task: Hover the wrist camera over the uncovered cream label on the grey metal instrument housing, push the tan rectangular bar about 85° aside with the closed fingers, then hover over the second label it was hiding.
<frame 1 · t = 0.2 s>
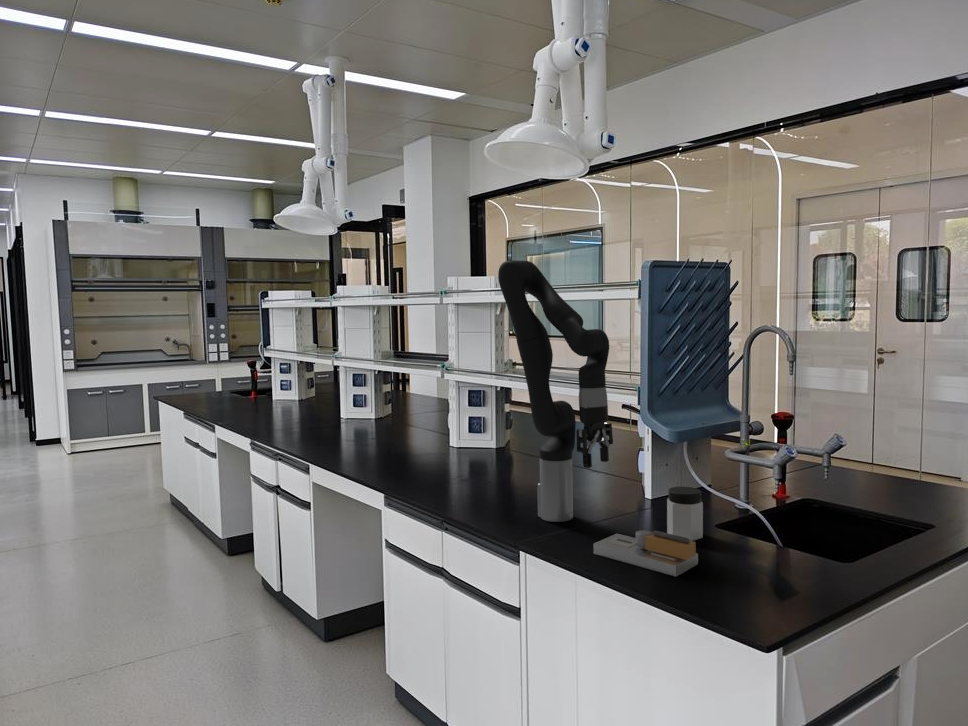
hand: (596, 464, 184), 17 cm above the worktop, tool pointing down, fingers open, 8 cm apart
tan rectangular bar: (663, 541, 158), point 5 cm above the worktop, hinge at 0.0°
jar: (684, 536, 177), on the worktop
housing: (644, 558, 162), on the worktop
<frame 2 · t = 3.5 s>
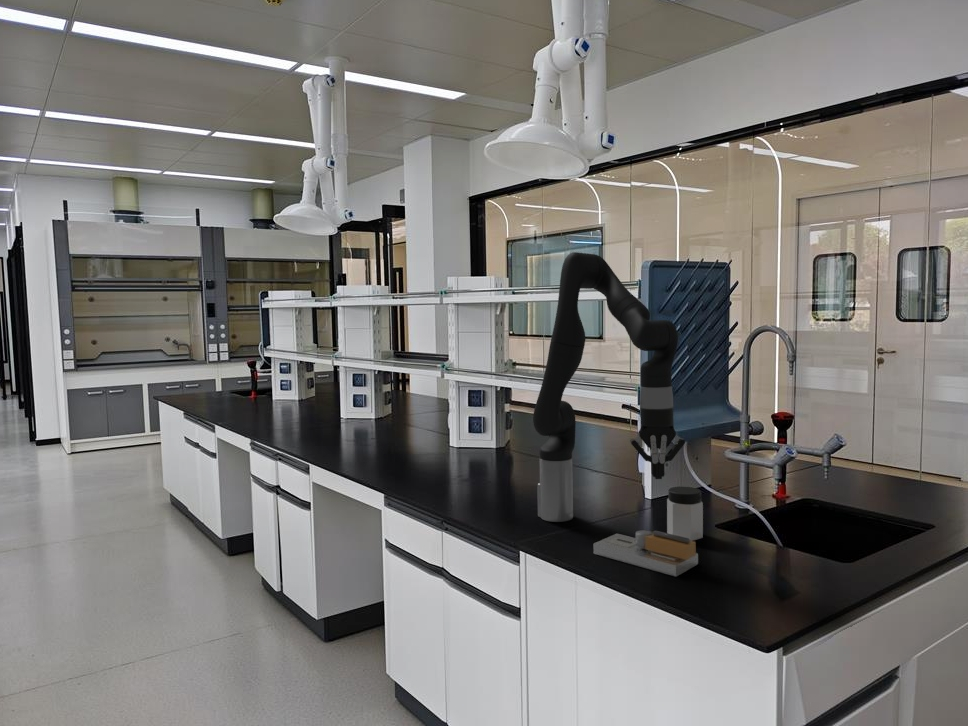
hand: (658, 478, 162), 19 cm above the worktop, tool pointing down, fingers closed
nothing on the worktop moved.
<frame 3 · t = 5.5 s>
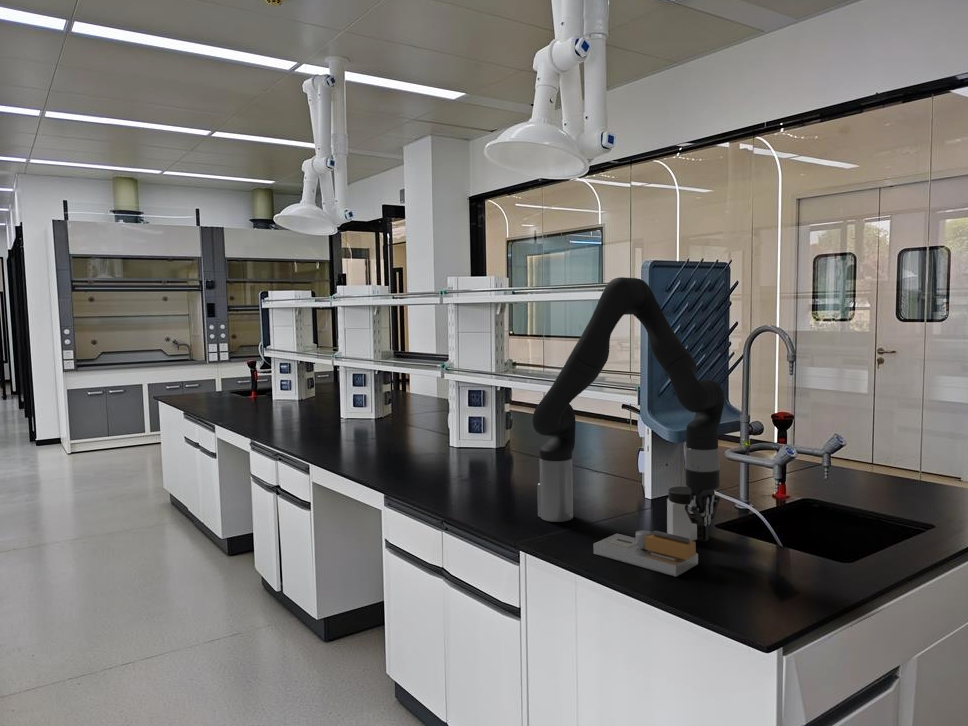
hand: (702, 540, 160), 5 cm above the worktop, tool pointing down, fingers closed
nothing on the worktop moved.
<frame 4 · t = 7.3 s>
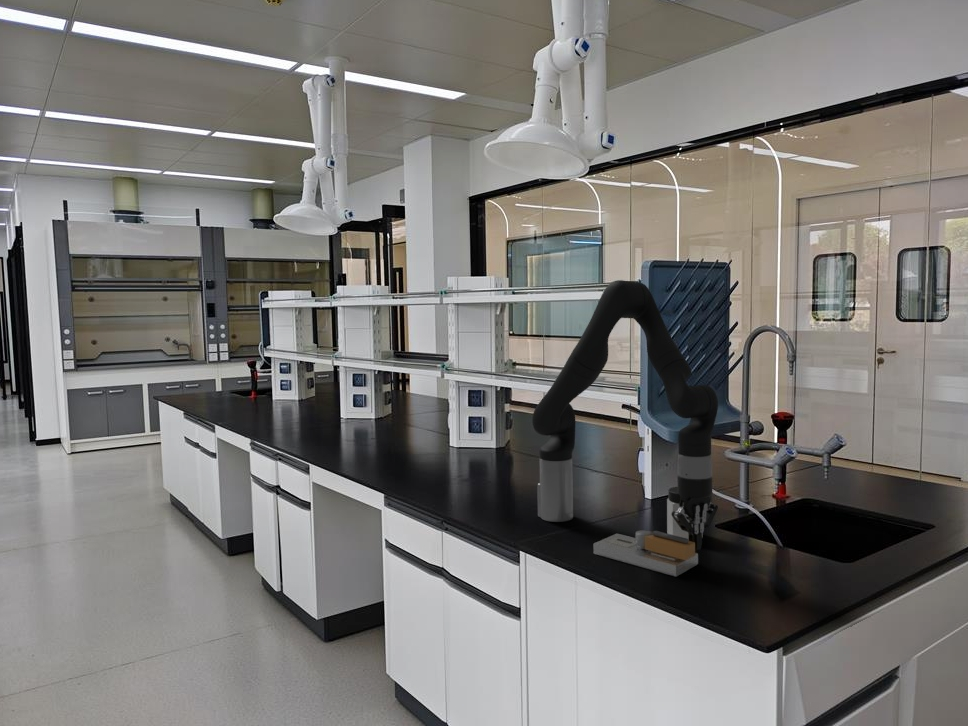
hand: (695, 548, 156), 4 cm above the worktop, tool pointing down, fingers closed
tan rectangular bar: (662, 541, 158), point 5 cm above the worktop, hinge at 2.0°, touching gripper
everything else where it was.
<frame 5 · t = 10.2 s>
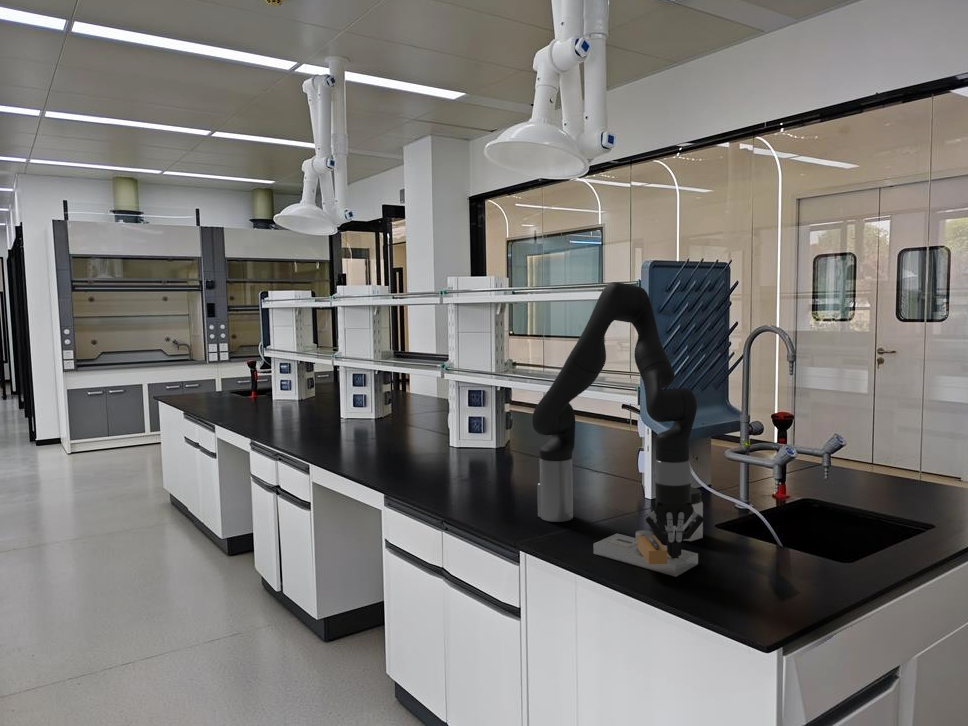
hand: (674, 557, 151), 4 cm above the worktop, tool pointing down, fingers closed
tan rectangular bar: (649, 543, 156), point 5 cm above the worktop, hinge at 44.4°, touching gripper
everything else where it was.
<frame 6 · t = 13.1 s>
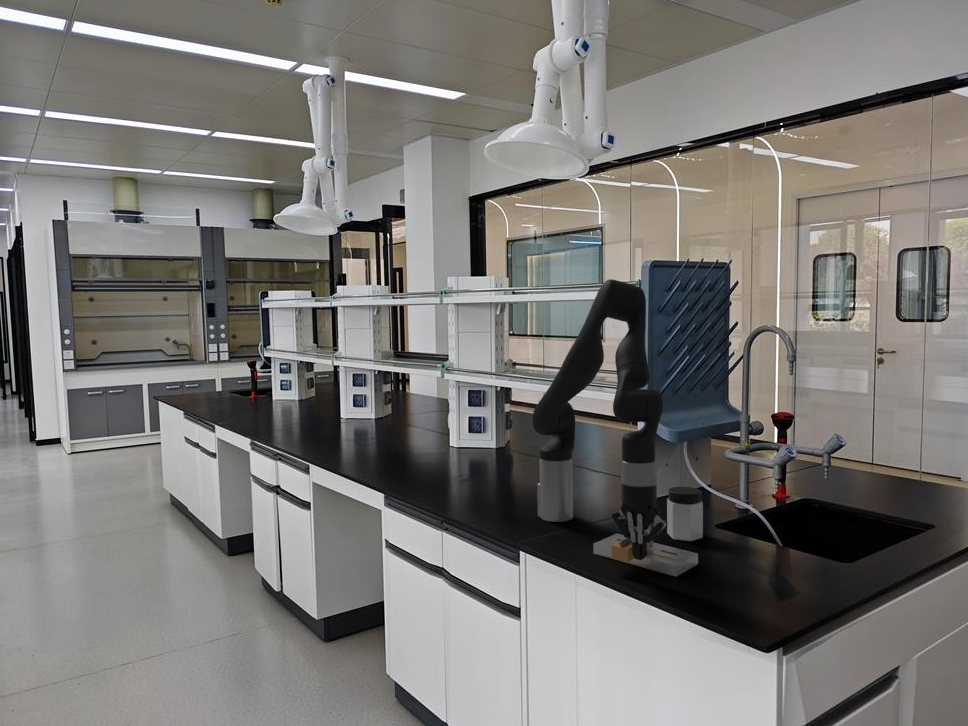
hand: (639, 558, 150), 4 cm above the worktop, tool pointing down, fingers closed
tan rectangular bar: (634, 542, 158), point 5 cm above the worktop, hinge at 84.7°
everything else where it was.
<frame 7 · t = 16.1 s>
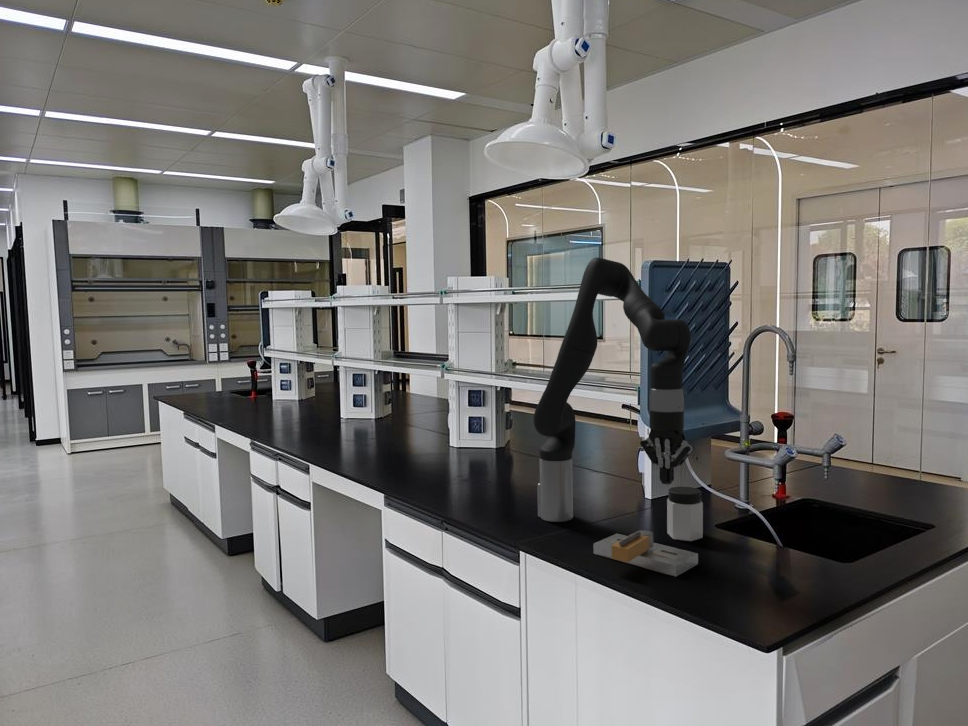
hand: (666, 483, 156), 19 cm above the worktop, tool pointing down, fingers closed
nothing on the worktop moved.
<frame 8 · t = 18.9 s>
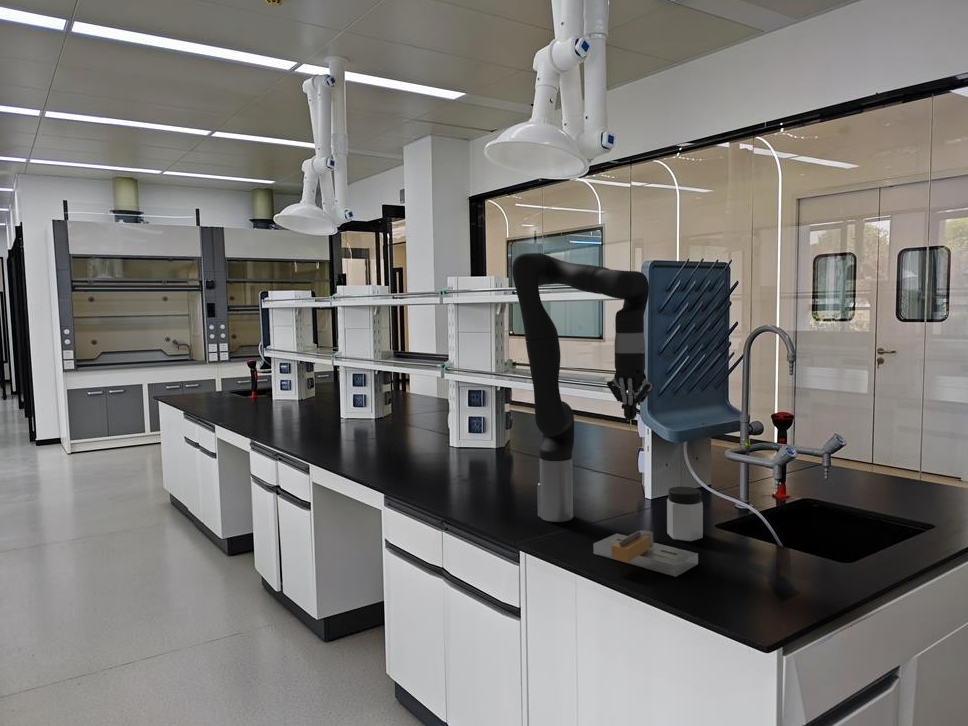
hand: (630, 419, 174), 31 cm above the worktop, tool pointing down, fingers closed
nothing on the worktop moved.
at the end: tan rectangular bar at +85° (first picture: +0°); jar moved 0.2 cm from its start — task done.
